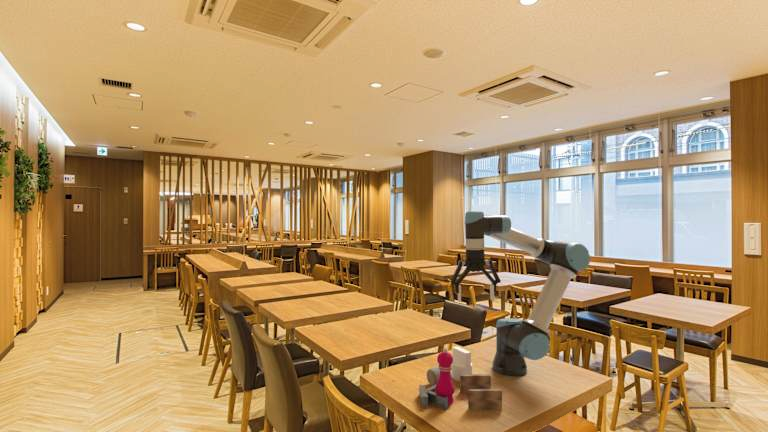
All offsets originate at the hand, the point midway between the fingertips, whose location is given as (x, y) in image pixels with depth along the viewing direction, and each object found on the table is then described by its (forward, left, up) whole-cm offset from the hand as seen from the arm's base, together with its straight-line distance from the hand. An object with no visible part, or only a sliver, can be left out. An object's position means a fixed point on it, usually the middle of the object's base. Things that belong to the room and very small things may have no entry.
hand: (475, 300), depth 162 cm
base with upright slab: (+3, -11, -36) cm, 38 cm away
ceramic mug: (+14, -2, -36) cm, 39 cm away
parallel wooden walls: (+1, +11, -36) cm, 38 cm away
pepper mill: (+15, +11, -36) cm, 40 cm away
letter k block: (+19, +11, -36) cm, 42 cm away
